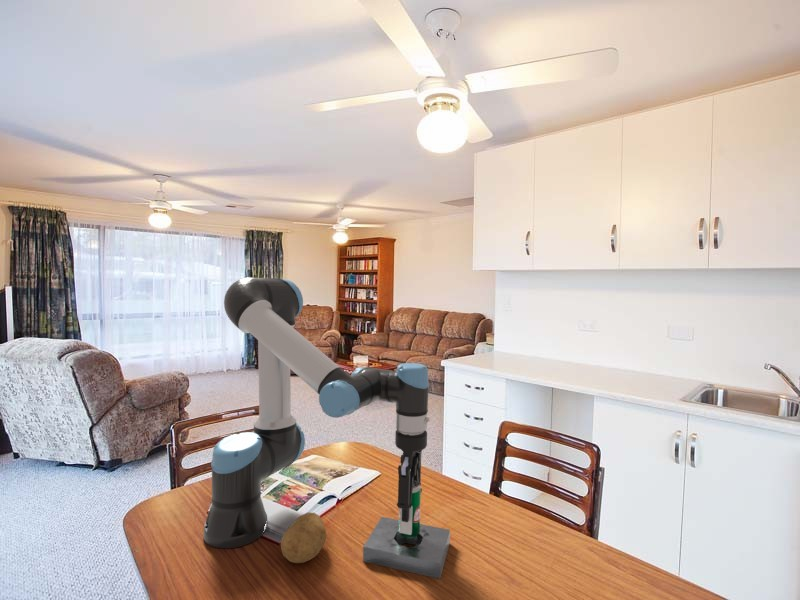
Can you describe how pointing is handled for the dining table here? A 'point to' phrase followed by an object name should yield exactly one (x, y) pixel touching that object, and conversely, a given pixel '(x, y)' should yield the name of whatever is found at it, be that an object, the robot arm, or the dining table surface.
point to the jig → (407, 548)
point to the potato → (303, 538)
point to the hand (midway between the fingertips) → (409, 525)
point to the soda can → (414, 511)
